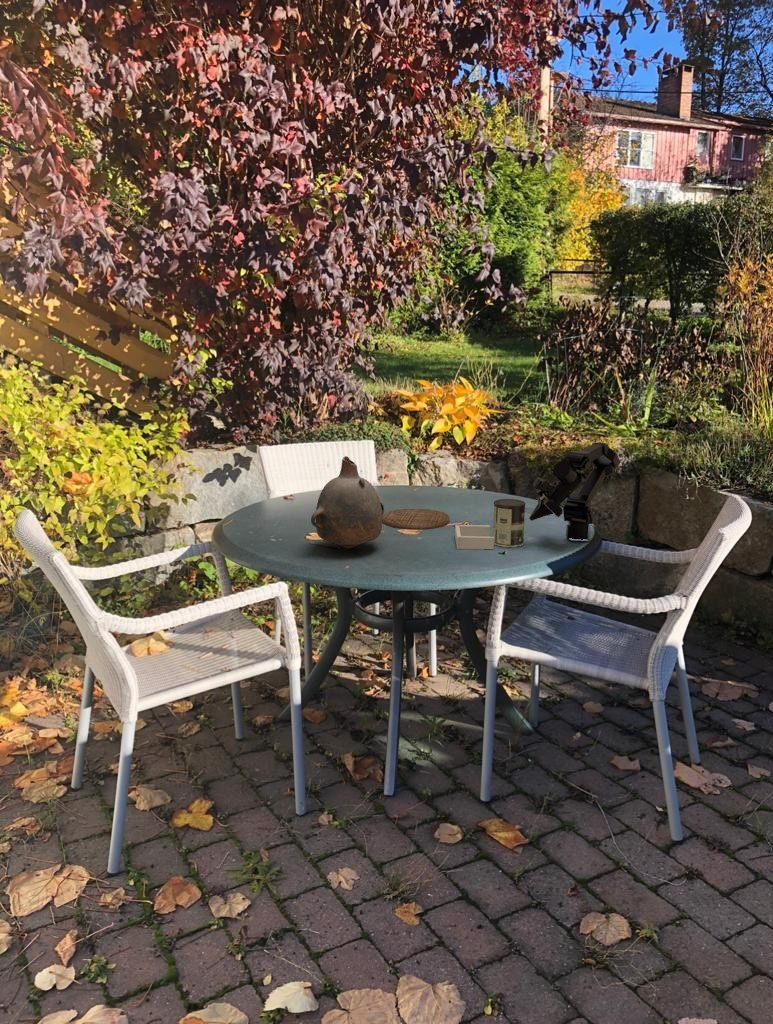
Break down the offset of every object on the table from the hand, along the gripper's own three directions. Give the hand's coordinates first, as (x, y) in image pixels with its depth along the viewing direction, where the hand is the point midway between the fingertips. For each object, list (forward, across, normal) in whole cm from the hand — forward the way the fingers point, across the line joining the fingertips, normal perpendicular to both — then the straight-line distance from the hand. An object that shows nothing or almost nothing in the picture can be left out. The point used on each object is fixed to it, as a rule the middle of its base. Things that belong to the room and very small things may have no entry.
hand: (530, 519), depth 261 cm
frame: (+19, -1, -7) cm, 20 cm away
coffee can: (+11, 0, +1) cm, 11 cm away
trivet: (+33, -29, -20) cm, 48 cm away
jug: (+48, +7, -36) cm, 60 cm away
